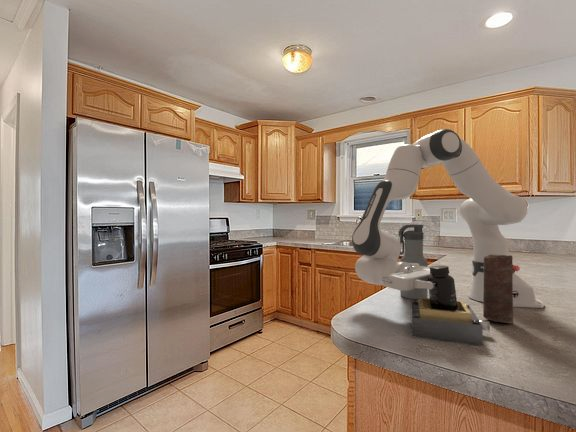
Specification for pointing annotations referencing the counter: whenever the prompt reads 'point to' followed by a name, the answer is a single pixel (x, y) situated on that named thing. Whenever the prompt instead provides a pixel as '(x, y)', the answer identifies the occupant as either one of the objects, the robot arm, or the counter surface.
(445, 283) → the supplement bottle
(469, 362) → the counter surface
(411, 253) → the water bottle
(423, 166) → the robot arm
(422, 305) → the grey and tan box
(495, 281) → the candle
